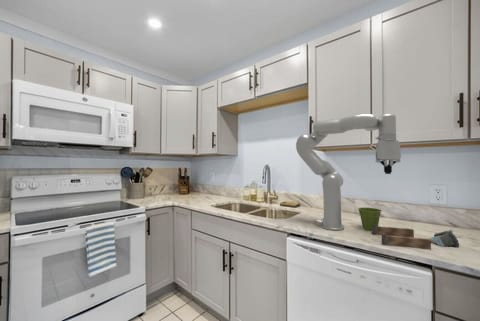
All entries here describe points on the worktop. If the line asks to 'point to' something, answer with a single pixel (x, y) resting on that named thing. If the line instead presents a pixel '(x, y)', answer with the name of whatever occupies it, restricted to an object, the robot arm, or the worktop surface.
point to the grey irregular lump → (445, 239)
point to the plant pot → (369, 217)
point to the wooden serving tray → (400, 237)
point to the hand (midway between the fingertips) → (387, 173)
